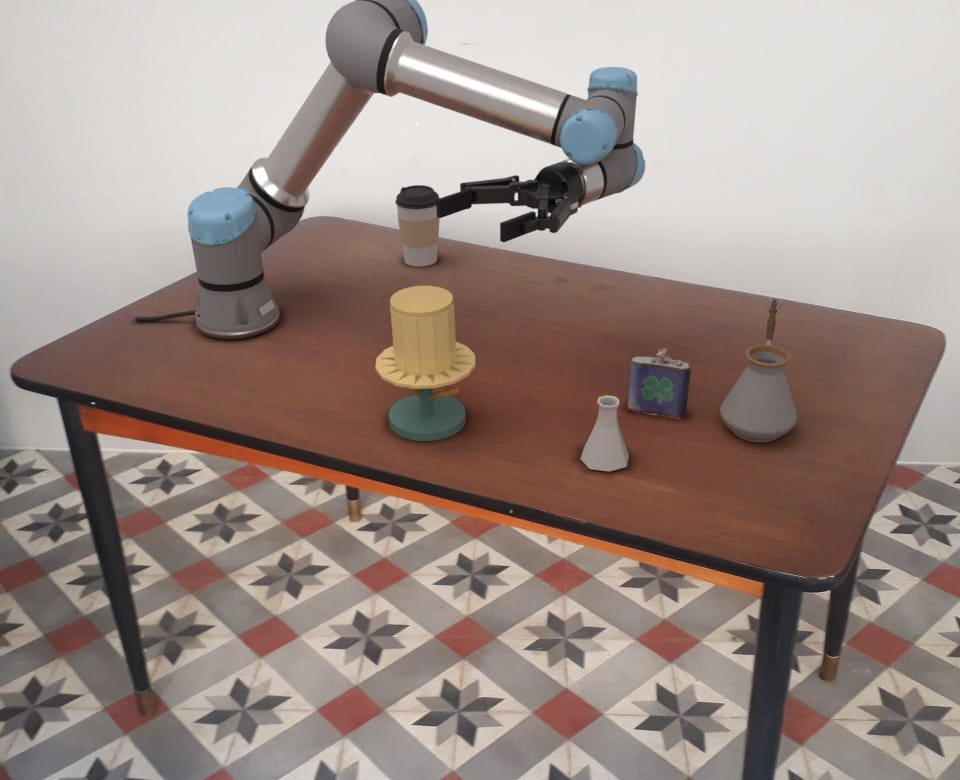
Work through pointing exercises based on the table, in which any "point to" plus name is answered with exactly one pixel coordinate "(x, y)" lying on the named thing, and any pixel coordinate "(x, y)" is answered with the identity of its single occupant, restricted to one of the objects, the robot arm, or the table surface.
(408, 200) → the coffee cup
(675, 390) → the flask
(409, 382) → the hat
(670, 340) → the table surface
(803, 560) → the table surface
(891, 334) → the table surface
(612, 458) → the flask
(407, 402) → the hat stand
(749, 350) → the coffee pot
